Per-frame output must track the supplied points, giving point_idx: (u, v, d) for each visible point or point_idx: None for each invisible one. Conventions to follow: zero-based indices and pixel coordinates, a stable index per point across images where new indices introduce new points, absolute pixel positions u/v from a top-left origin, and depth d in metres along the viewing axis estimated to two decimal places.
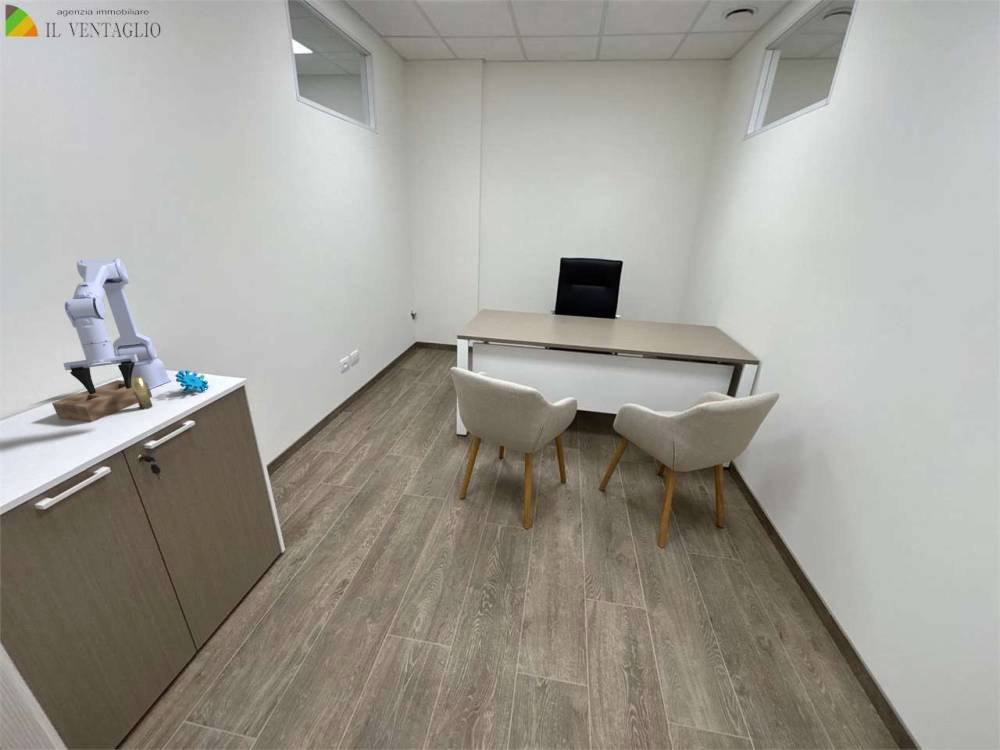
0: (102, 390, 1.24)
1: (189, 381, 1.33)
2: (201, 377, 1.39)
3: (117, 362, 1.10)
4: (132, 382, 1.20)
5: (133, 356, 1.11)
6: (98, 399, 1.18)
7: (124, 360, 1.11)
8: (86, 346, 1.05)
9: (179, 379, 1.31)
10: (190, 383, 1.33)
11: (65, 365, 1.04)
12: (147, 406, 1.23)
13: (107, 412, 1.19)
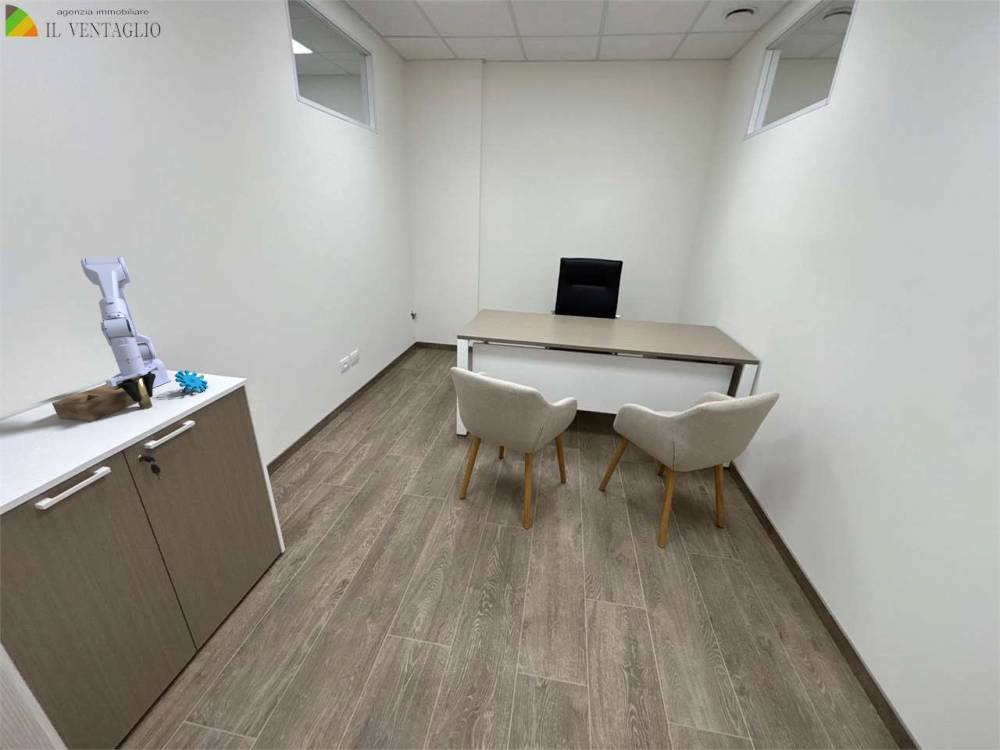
0: (102, 390, 1.24)
1: (188, 381, 1.33)
2: (201, 377, 1.39)
3: None
4: None
5: (158, 365, 1.26)
6: (98, 399, 1.18)
7: (150, 370, 1.25)
8: (131, 361, 1.17)
9: (178, 379, 1.31)
10: (190, 383, 1.33)
11: (112, 382, 1.14)
12: (147, 406, 1.23)
13: (107, 412, 1.19)
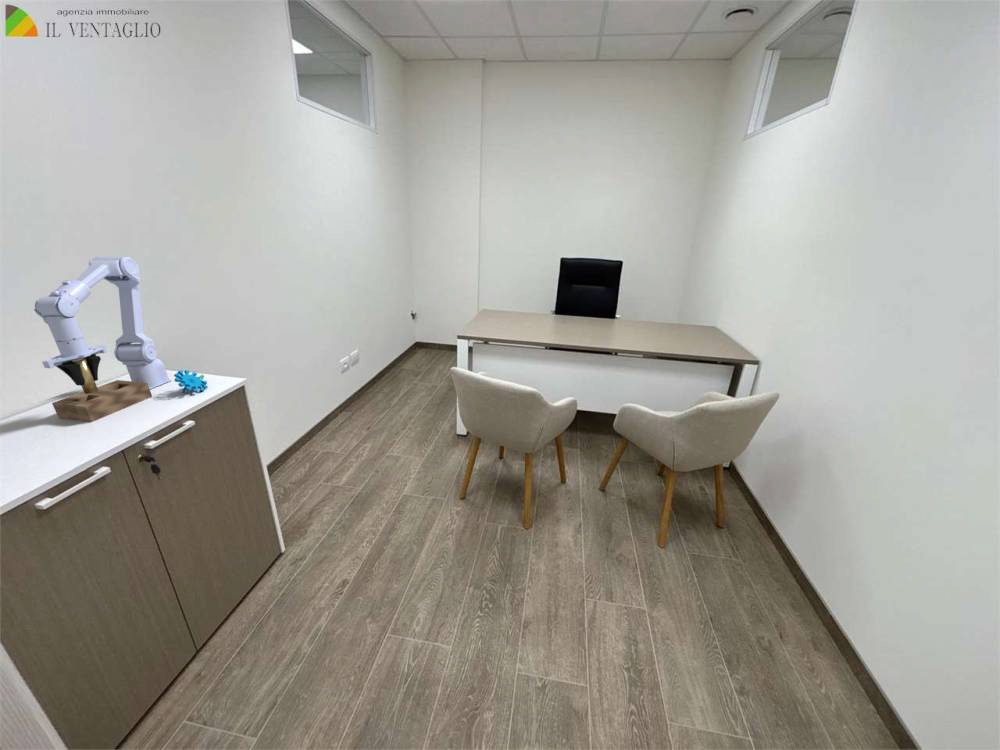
0: (102, 390, 1.24)
1: (188, 381, 1.33)
2: (200, 377, 1.39)
3: (90, 355, 1.17)
4: None
5: (105, 347, 1.20)
6: (98, 399, 1.18)
7: (95, 352, 1.19)
8: (71, 342, 1.11)
9: (177, 379, 1.31)
10: (189, 383, 1.33)
11: (50, 363, 1.08)
12: (92, 390, 1.17)
13: (107, 412, 1.19)
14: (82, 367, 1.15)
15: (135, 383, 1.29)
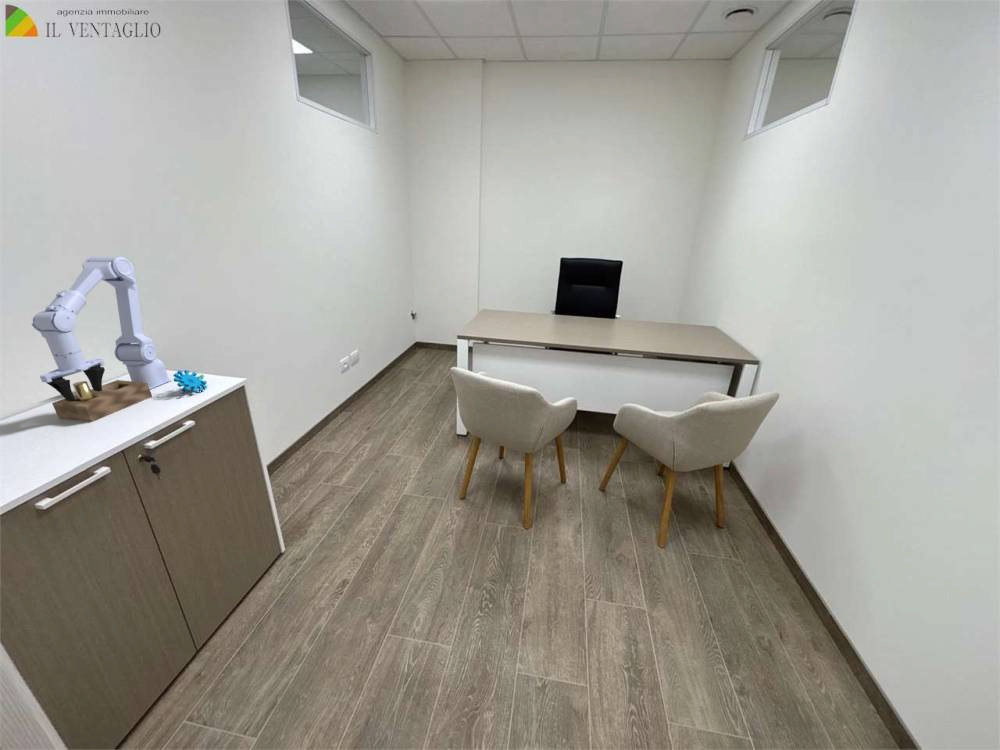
0: (102, 390, 1.24)
1: (187, 381, 1.33)
2: (200, 377, 1.39)
3: (88, 368, 1.18)
4: (75, 387, 1.16)
5: (102, 360, 1.21)
6: (98, 399, 1.18)
7: (93, 365, 1.19)
8: (69, 356, 1.12)
9: (176, 379, 1.31)
10: (188, 383, 1.33)
11: (47, 377, 1.09)
12: None
13: (107, 412, 1.19)
14: (83, 390, 1.17)
15: (135, 383, 1.29)
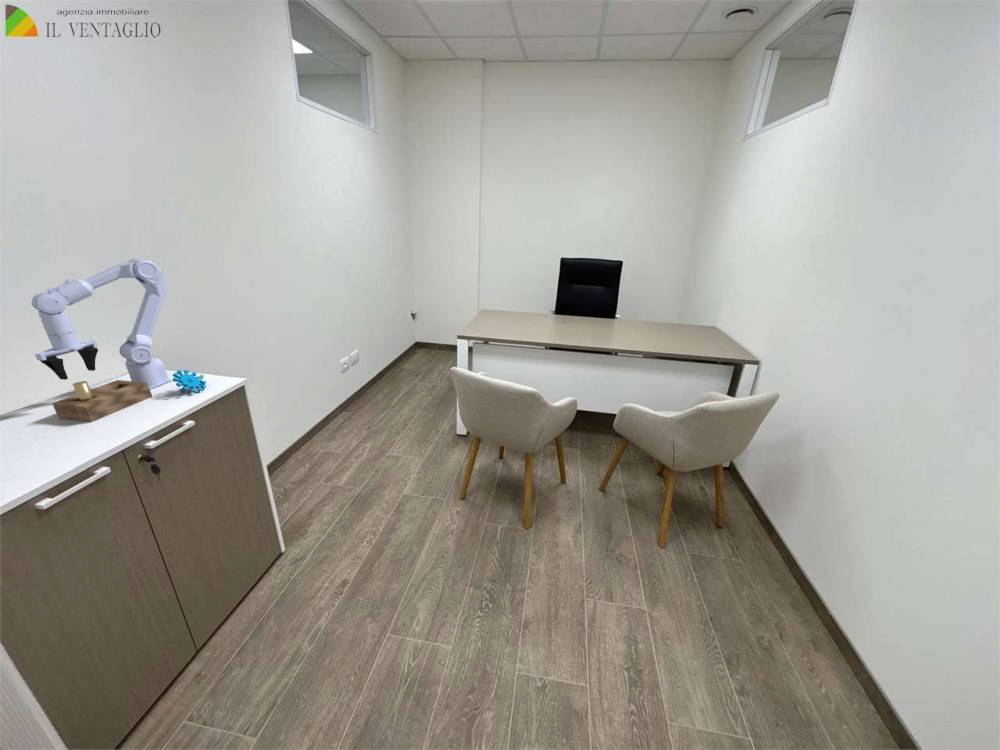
0: (102, 390, 1.24)
1: (186, 381, 1.33)
2: (200, 377, 1.39)
3: (81, 348, 1.24)
4: (75, 387, 1.16)
5: (95, 341, 1.27)
6: (98, 399, 1.18)
7: (86, 346, 1.26)
8: (63, 336, 1.18)
9: (175, 379, 1.31)
10: (187, 383, 1.33)
11: (42, 355, 1.15)
12: None
13: (107, 412, 1.19)
14: (83, 390, 1.17)
15: (135, 383, 1.29)
